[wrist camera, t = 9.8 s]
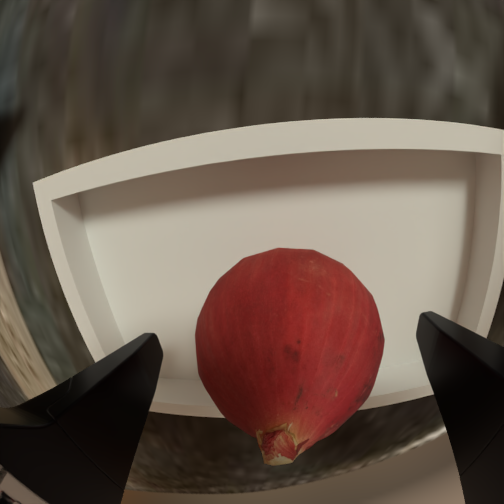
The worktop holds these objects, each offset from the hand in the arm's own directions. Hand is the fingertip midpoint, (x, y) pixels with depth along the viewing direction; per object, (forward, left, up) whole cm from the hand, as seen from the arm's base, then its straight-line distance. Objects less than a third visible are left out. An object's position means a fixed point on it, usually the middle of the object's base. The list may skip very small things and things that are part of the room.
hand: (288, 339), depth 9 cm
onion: (0, 0, -4) cm, 4 cm away
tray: (0, 0, -4) cm, 4 cm away
